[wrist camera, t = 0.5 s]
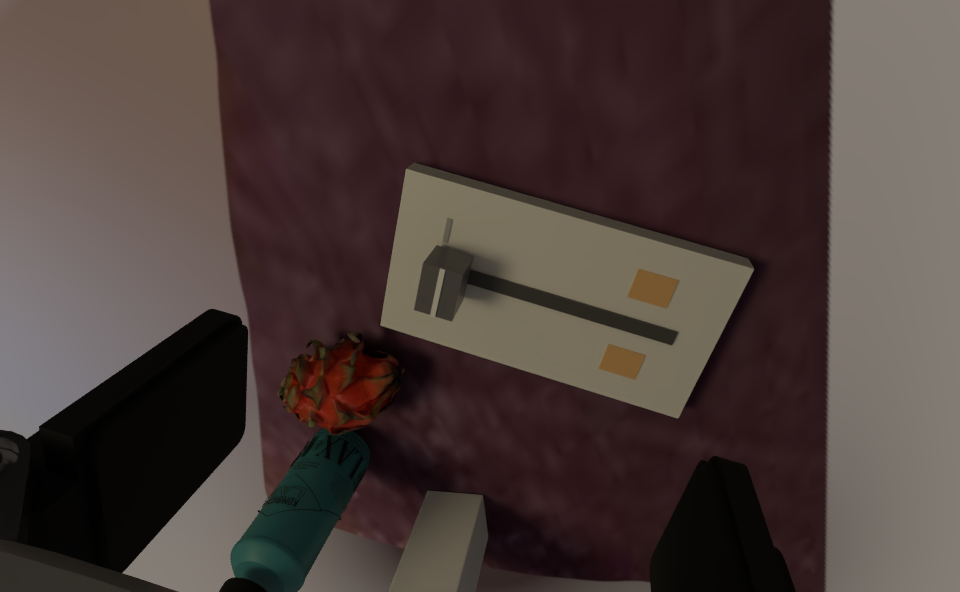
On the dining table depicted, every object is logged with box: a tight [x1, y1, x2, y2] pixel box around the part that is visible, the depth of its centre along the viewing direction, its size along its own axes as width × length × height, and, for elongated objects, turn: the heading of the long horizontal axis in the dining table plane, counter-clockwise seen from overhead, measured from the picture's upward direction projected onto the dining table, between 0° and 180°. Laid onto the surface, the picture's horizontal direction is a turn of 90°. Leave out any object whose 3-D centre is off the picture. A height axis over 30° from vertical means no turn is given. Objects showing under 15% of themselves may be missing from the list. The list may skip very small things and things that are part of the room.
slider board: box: [380, 163, 754, 418], centre depth 45 cm, size 14×26×2 cm, turn 77°
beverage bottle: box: [219, 428, 370, 592], centre depth 50 cm, size 6×7×20 cm
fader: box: [414, 245, 474, 322], centre depth 43 cm, size 4×3×4 cm
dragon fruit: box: [278, 332, 405, 435], centre depth 51 cm, size 8×8×12 cm
